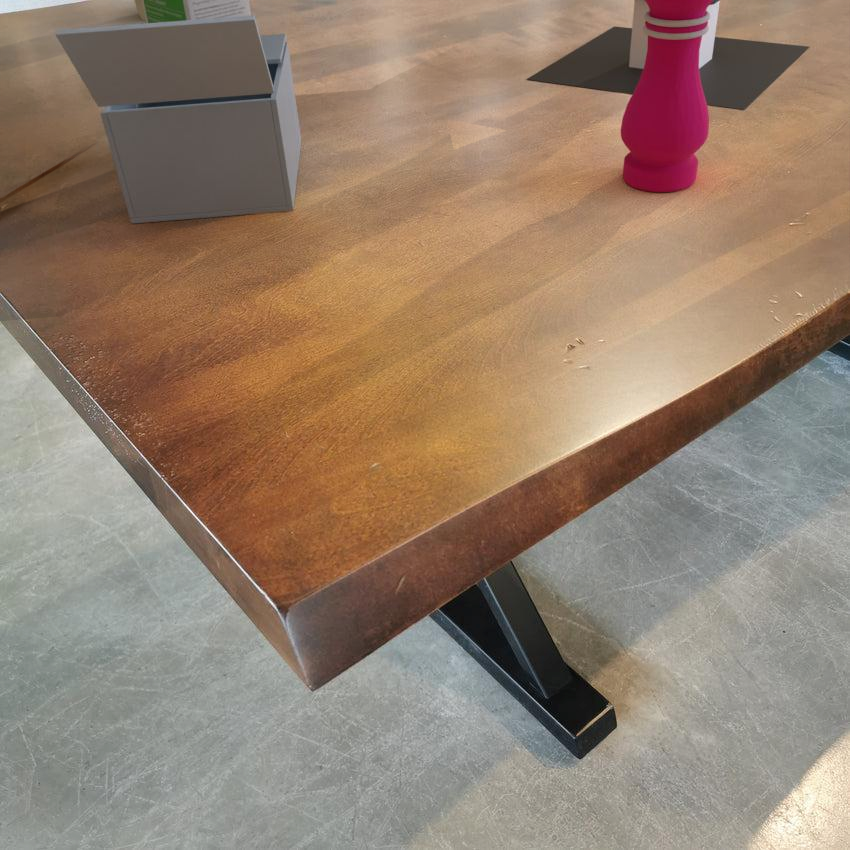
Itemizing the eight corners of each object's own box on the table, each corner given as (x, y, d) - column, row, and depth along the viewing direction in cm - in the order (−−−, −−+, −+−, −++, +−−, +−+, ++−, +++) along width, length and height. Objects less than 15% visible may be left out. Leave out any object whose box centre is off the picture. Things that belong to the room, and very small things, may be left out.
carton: (293, 210, 76) (274, 89, 70) (131, 224, 76) (97, 102, 70) (301, 140, 90) (286, 33, 83) (163, 151, 89) (137, 44, 83)
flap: (274, 89, 70) (274, 93, 70) (98, 102, 70) (98, 107, 70) (254, 14, 62) (254, 19, 62) (55, 29, 62) (55, 34, 62)
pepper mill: (665, 202, 73) (698, -69, 61) (599, 179, 78) (617, -78, 66) (718, 177, 77) (759, -85, 65) (652, 156, 81) (679, -93, 69)
